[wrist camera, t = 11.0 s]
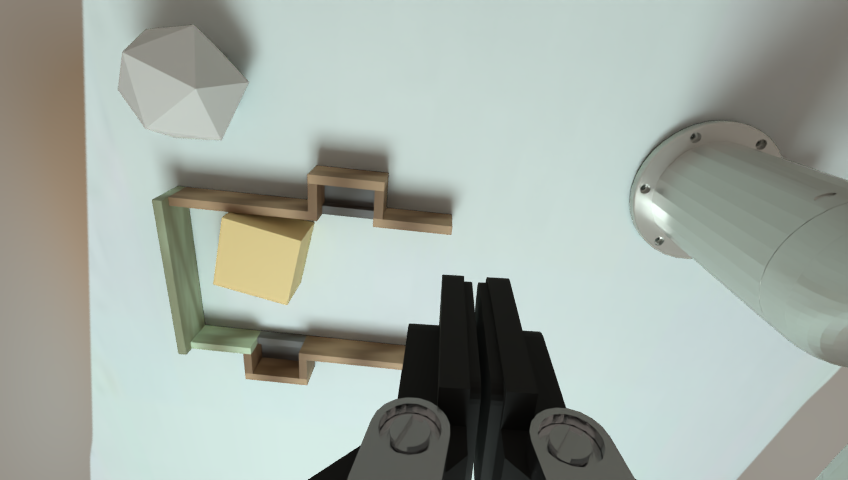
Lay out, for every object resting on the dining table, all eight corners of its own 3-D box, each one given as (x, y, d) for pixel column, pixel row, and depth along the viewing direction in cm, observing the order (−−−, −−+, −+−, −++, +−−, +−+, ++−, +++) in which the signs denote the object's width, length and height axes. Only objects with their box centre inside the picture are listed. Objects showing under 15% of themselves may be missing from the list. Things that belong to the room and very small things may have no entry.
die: (151, 23, 36) (68, 99, 31) (202, -21, 31) (112, 62, 26) (230, 100, 41) (169, 175, 36) (285, 74, 36) (222, 158, 31)
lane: (456, 179, 40) (457, 193, 36) (430, 378, 49) (429, 404, 46) (172, 150, 40) (145, 161, 36) (202, 354, 49) (183, 379, 46)
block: (314, 222, 42) (301, 241, 38) (301, 281, 45) (287, 305, 41) (243, 200, 42) (221, 217, 38) (234, 262, 44) (213, 284, 40)
